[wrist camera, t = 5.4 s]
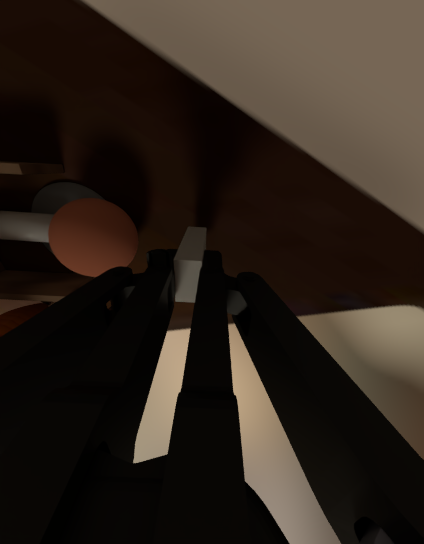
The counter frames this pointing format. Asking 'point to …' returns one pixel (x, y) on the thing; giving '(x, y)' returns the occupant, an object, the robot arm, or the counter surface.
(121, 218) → the ball
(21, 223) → the pin
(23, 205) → the counter surface
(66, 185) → the pin disc
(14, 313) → the carrot
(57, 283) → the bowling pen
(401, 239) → the counter surface
